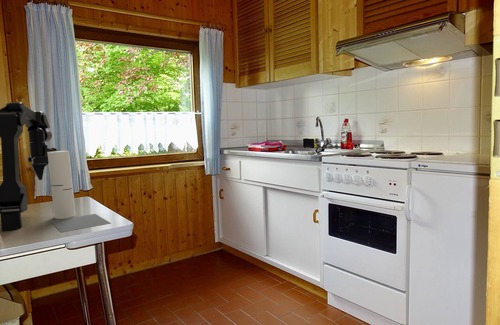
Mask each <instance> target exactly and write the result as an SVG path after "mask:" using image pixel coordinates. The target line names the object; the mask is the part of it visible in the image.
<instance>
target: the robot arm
mask: <svg viewBox="0 0 500 325" xmlns="http://www.w3.org/2000/svg"><path fill="white" fill-rule="evenodd" d="M24 126H25V127H27V130H26V131H27V134H28V135H27V136H28V143H29V144H28V148H29V155H28V156H27V158H26V162H27V163H29V165H30V167H31V168H32V171H33V173H35V176H36V177H37V179H38V180H39V181H42V180H43V177H44V172H45V167H47V166H48V165H49V162H48V153H47V152H55V151H58V150H57V148H56V147H51V148H49V147H48V145H47V144H46V143H47V142H50V141H51V140H52V137H53V134H52V131H51V130H50V128H51V127H50V123H49V121H48V117H47V115H46V114H45V112H44V111H40V110H39V111H38V110H33V109H31V108H30V107H28V106H26V105H25V102H24V103H23V102H22V101H19V102H18V101H17V102H15V101H14V102H8V103H6V104H5V106H4V107H2V108H0V143H1V144H0V146H1V170H2V182H1V183H0V225H1V232H3V233H4V232H13V231H16V230H21V229H22V228H23V219H22V217H23V216H22V213H24V212H26V211H28V199H29V197H28V193H27V186H26V185H25V184H23V183H22V182H21V179H20V159H19V158H20V157H19V156H20V154H19V138H20V137H21V136H22V134H23V132H24Z"/></svg>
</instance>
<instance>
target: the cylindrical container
mask: <svg viewBox="0 0 500 325" xmlns="http://www.w3.org/2000/svg"><path fill="white" fill-rule="evenodd" d="M47 153H48V162H49V163H48V170H49V180H50V189H51V197H52V206H53V216H54V219H55V220H60V219H66V218H72V217H77V216H76V215H77V214H76V205H75V196H74V188H73V187H74V186H73V179H72V178H73V177H72V176H73V174H72V166H71V158H70V150H57V151H55V152H47Z"/></svg>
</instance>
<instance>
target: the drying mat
mask: <svg viewBox="0 0 500 325" xmlns="http://www.w3.org/2000/svg"><path fill="white" fill-rule="evenodd" d="M49 223H50V224H52V225H53V226H54V227H55V228H56V229H57V231H59V232H60V233H66V232H71V231H77V230H81V229H83V230H84V229H88V228H94V227H99V226H105V225H110V224H112V222H110V221H109V220H107V219H105V218H104V217H102V216H100V215H98V214H96V213H92V214H85V215H80V216H79V215H78V216H74V217H70V218H64V219H53V220H49Z"/></svg>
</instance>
